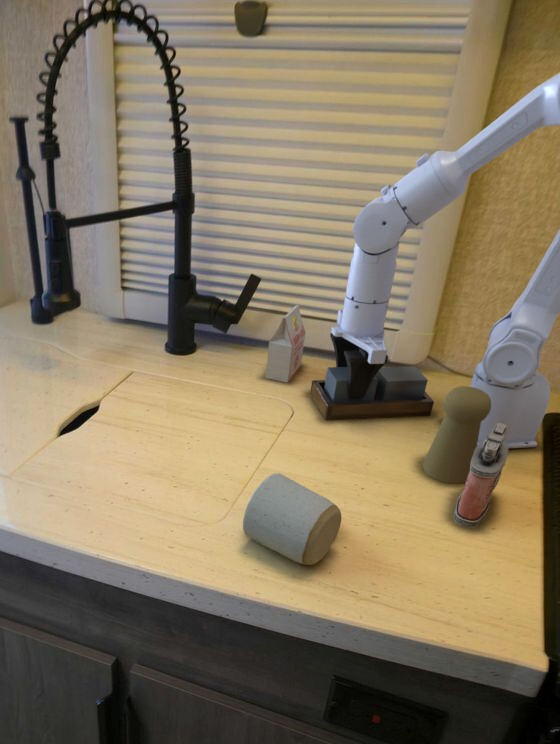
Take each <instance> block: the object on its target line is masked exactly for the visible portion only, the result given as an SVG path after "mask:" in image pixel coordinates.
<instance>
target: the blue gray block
mask: <svg viewBox="0 0 560 744" xmlns="http://www.w3.org/2000/svg"><path fill="white" fill-rule="evenodd" d="M324 380H325V386H324V392H325V394H326V395H327V397H328V399H329V400H330V402H331V403H346V402H371V401H373V400H374V395H375V391H376V386H377V381H378V379H377V378H376V376H375V377H374V378H373V380H372V382H371V384H370V386H369V388H368V390H367V392H366V394H365V396H364V398H363V399H349V397H348V367H336V366H330V367H327V369H326V375H325V379H324Z"/></svg>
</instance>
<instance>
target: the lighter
mask: <svg viewBox="0 0 560 744" xmlns="http://www.w3.org/2000/svg"><path fill="white" fill-rule="evenodd" d="M506 429H507V427H506V425H505V424H502V423H498V424H496V426H495V428H494V430H493V432H492V433H489V435H488V437H487V438H485V439H484V440H483V441H482V442H480V443H479V444H478V446H477V447H476V449H475V450H474V453H473V456H472V460H471V464H470V471H469V474H468V477H467V480H466V482H464V483H465V484H464V487H463V490H462V492H461V494H460V495H459V497H458V498H457V502H456V504H455V508H454V511H453V512H454V513H453V520H454V522H455V523H456V524H458V525H460V526H462V527H465V528H476V527H478V525H480V523H481V522H482V521H483V520H484V518H485V516H486V515H487V513H488V510H489V507H490V503H491V500H492V494H493V492H494V490H495V488H496V487H497V485H498V483H499V481H500V478H501V475H502V471H503V468H504V467H505V465H506V463H507V459H508V455H509V448H508V444H507V443H506V442H505V441H504V435H505V432H506Z"/></svg>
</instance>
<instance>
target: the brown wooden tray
mask: <svg viewBox="0 0 560 744" xmlns="http://www.w3.org/2000/svg"><path fill="white" fill-rule="evenodd" d="M375 376H376V378H377V379H378V381H377V386H376V391H375V395H374V400H373V401H371V402H346V403H331V402H330V400H329V399H328V397H327V395H326V394H325V392H324V386H325V380H326V379H316V380H315V379H314V380H311V386H310V391H309V392H310V393H309V395H310V396H311V398H312V399H313V401H314V403H315V405H316V407H317V408H318V410H319V412H320V414H321V416H322V417H323V419H324V420H325V421H338V420H359V419H361V420H362V419H363V420H364V419H383V418H386V419H387V418H405V417H406V418H407V417H409V418H410V417H428V416H429V417H430V416H431V415H432V412H433V408H434V404H435V400H434V399H432V397H431V396H430V395H429V394H428V393H427V392H426V388H427V385H428V381H429V380H428V379H427V377H426V376H425V375H424V374H423V373H422V372H421V371H420V370H419V369H418V368H417V366H394V367H393V366H392V367H389V366H388V367H382V368H381V369H380V370H379V371H378V372H377V374H376V375H375Z"/></svg>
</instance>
